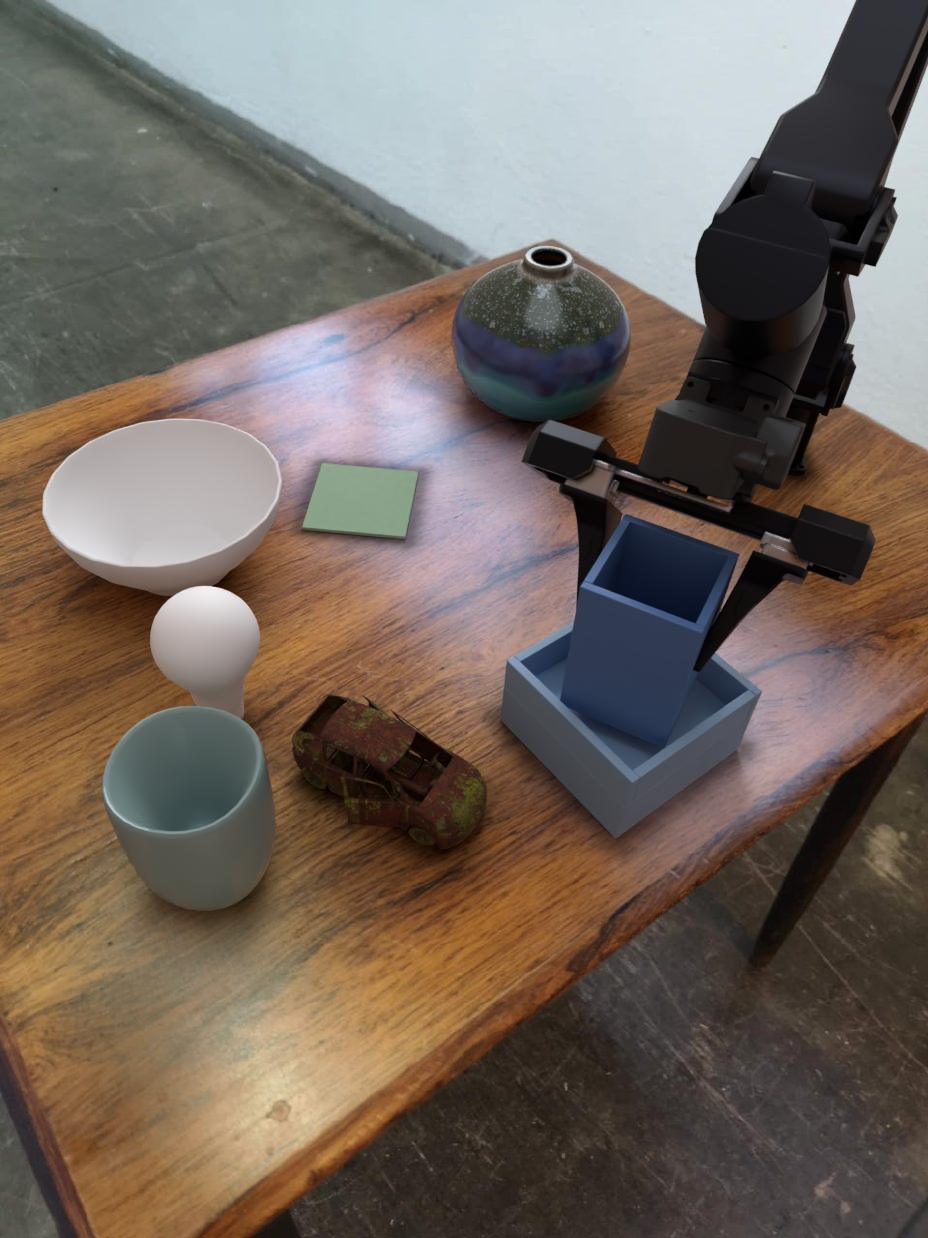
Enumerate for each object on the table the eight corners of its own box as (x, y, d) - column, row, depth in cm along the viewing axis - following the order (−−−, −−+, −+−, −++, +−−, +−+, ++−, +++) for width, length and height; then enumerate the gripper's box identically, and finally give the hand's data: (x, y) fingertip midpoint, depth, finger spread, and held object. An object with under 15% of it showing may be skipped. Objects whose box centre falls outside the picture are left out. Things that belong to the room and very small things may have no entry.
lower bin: (619, 646, 67) (634, 585, 62) (737, 749, 61) (762, 691, 56) (499, 719, 62) (506, 659, 57) (615, 839, 56) (632, 783, 52)
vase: (416, 409, 85) (416, 266, 75) (503, 333, 94) (513, 197, 84) (570, 470, 80) (592, 326, 70) (646, 384, 89) (675, 246, 79)
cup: (256, 946, 51) (229, 852, 44) (119, 915, 52) (70, 818, 44) (302, 821, 56) (285, 718, 49) (176, 795, 57) (142, 691, 50)
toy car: (272, 791, 58) (262, 743, 54) (338, 711, 62) (333, 662, 58) (444, 884, 54) (446, 840, 50) (502, 793, 58) (508, 746, 54)
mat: (418, 474, 79) (418, 471, 78) (405, 539, 73) (405, 536, 73) (322, 465, 79) (322, 462, 79) (302, 529, 73) (301, 527, 73)
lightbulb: (290, 699, 62) (272, 580, 54) (246, 773, 58) (219, 656, 50) (207, 673, 63) (176, 553, 55) (158, 744, 59) (117, 625, 51)
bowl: (21, 599, 67) (-12, 524, 62) (153, 470, 78) (134, 397, 72) (217, 670, 64) (200, 596, 59) (329, 524, 74) (322, 451, 69)
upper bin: (600, 632, 61) (625, 513, 53) (699, 671, 59) (739, 553, 52) (558, 704, 57) (579, 586, 49) (664, 748, 55) (702, 633, 47)
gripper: (553, 282, 47) (442, 579, 48) (946, 393, 41) (808, 725, 43) (592, 348, 58) (500, 591, 59) (909, 444, 52) (799, 709, 53)
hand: (636, 647), depth 53 cm, fingers closed on upper bin, 6 cm apart
